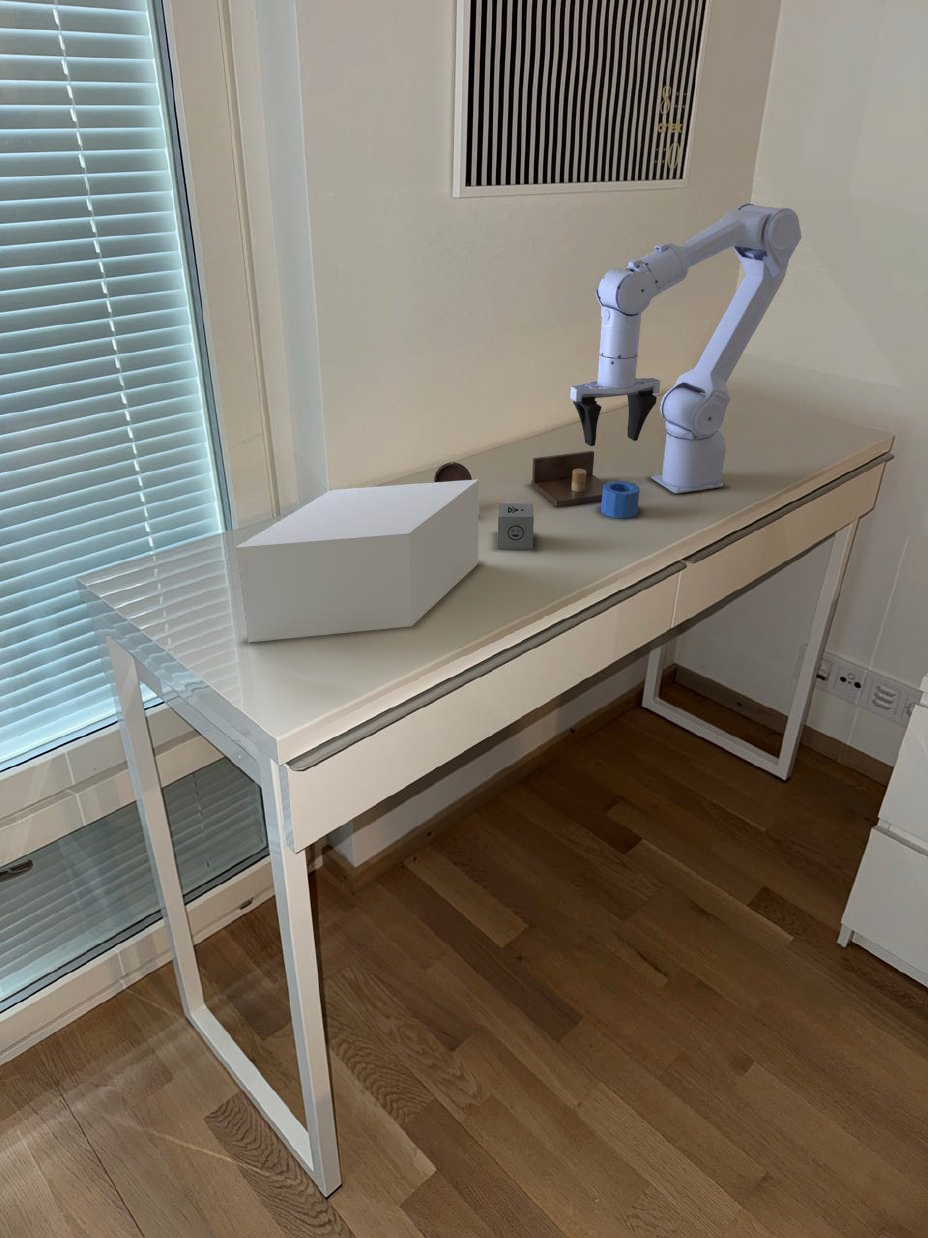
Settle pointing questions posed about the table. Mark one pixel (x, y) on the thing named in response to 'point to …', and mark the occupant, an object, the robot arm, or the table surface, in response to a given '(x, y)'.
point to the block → (359, 560)
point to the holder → (567, 478)
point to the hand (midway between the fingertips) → (611, 441)
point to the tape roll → (620, 499)
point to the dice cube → (515, 526)
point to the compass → (452, 473)
